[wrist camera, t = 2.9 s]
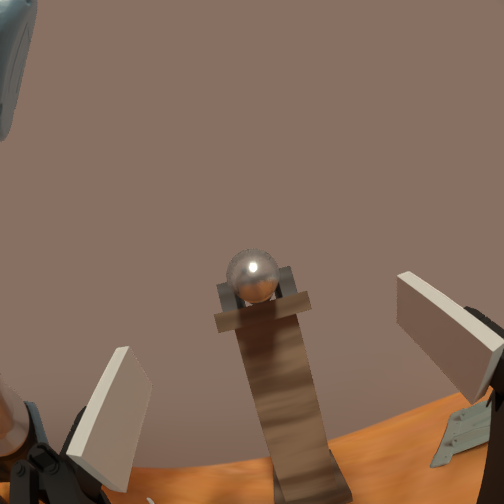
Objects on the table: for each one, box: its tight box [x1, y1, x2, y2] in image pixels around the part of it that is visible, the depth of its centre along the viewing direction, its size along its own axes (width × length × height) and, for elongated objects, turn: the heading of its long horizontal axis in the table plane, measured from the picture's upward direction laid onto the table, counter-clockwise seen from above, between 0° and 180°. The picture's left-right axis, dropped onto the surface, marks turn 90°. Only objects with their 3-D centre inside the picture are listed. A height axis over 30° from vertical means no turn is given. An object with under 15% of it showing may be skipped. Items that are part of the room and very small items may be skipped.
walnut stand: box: [214, 266, 353, 504], centre depth 32 cm, size 14×10×33 cm
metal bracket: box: [430, 400, 491, 468], centre depth 22 cm, size 14×6×15 cm
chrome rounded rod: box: [227, 249, 279, 305], centre depth 31 cm, size 20×4×4 cm, turn 178°
